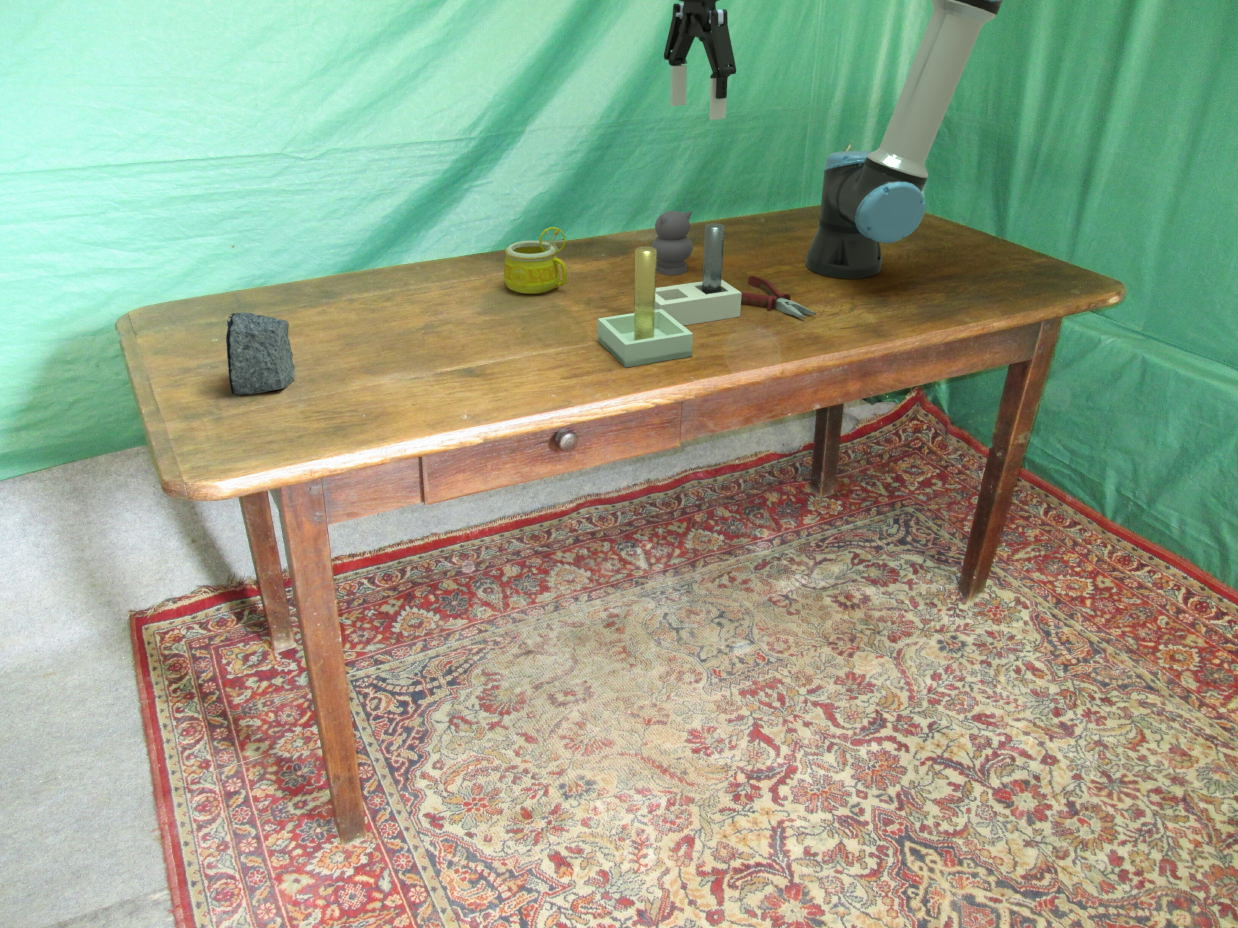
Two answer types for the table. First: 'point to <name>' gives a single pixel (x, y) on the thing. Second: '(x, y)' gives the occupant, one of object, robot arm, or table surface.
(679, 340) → the tray
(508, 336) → the table surface
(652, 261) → the pin brass
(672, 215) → the cat figurine
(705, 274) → the pin dark
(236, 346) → the stone
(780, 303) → the pliers
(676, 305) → the pale green peg holder
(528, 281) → the mug
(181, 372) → the table surface
